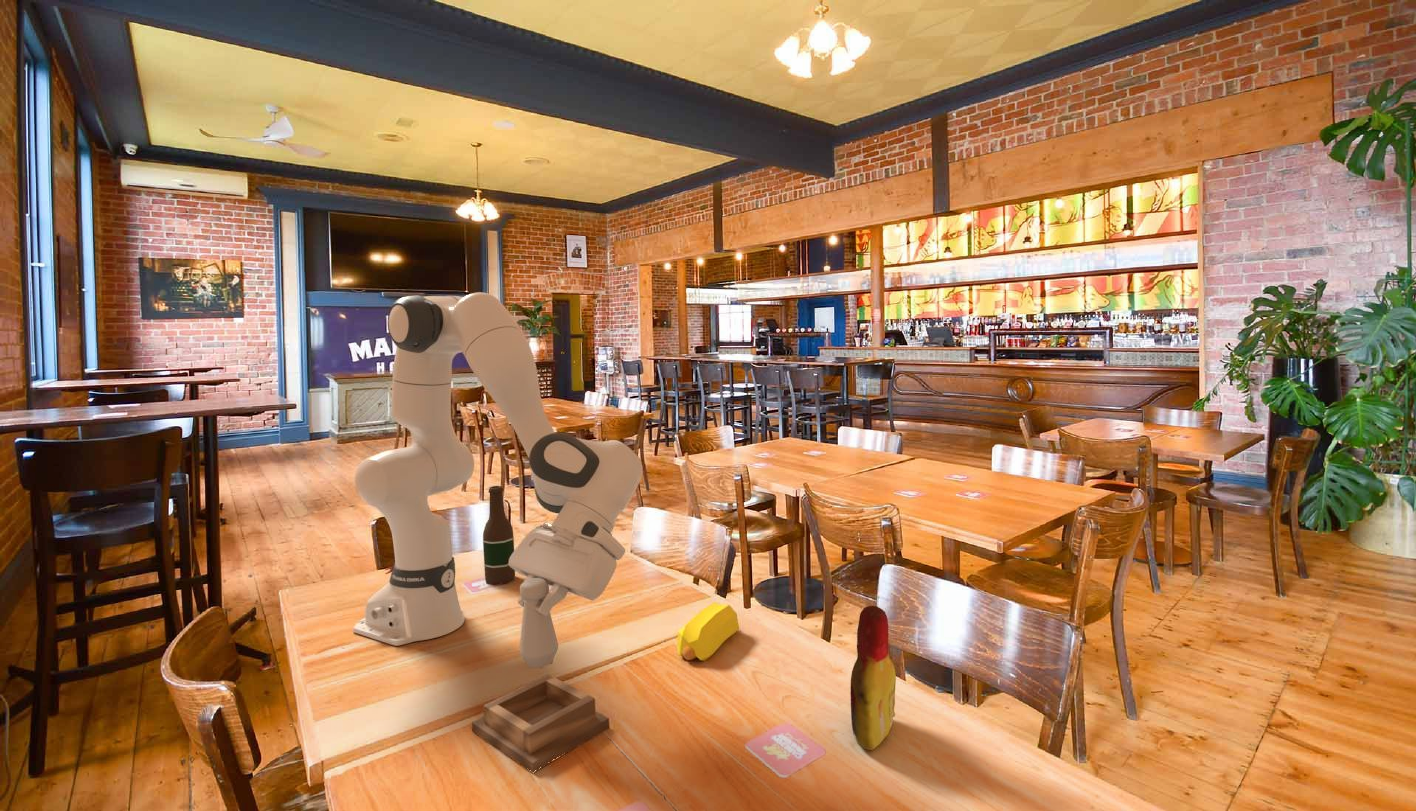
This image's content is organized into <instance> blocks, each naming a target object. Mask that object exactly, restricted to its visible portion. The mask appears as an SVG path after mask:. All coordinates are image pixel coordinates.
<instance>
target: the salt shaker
mask: <svg viewBox="0 0 1416 811" xmlns="http://www.w3.org/2000/svg"><path fill="white" fill-rule="evenodd" d="M519 592H520V593H519V594H520V596H521V598H522V599H524V607H523V612H522V621H521V631H520V638H519V653H520V656H521V657H522V659H523V660H524V662H525V663H526V664H527V666H528V667H529V668H530V669H543V668H545V667H547V666H549V665H551V664H553V663H554V662H553V661H554V658H555V656H556V654H557V652H558V650H559V641H558V638H557V634H556V631H555V627H554V623H553V619H552V618H553V617H552V616H551V611H550V612H549V614H548V615H547V616H544V615H542V614H540V613H538V612H537V611H535V606H536V605H537V604H538V601H539V600H540V599H542V600H543V599H545V598H546V597H547V596H548V595H549V594H550V585H548V582H547V581H546V580H545V579H543V578H532V579H528V580H526V581H525V580H523V582H522V583H521V584H520V585H519Z"/></svg>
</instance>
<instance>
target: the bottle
mask: <svg viewBox="0 0 1416 811" xmlns="http://www.w3.org/2000/svg"><path fill="white" fill-rule="evenodd" d="M889 633H890V632H889V620H888V615H887V614H886V611H885V610H883V609H882V608H880V607H879V606H876V605H867V606H864V608H863V609H862V610H861V612H860V614H859V618H858V626H857V633H856V653H857V656H856V660H855V662H854V665H853V667H852V670H851V676H850V693H849V694H850V715H851V716H850V718H851V728H852V732H853V736H854V739H855V741H856V743H857V744H858V746H860V747H861V748H863V749H865V750H869V751H871V750H872V751H873V750H875V749H876V748H877V747H878V746H880V745H881V743H882V742H883V741H884V740H885V738H886V737H888V735H889V734H890V731H891V730H890V729H891V728H892V726H893V723H894V717H895V716H896V712H895V706H896V705H895V704H896V684H897V683H896V680H897V676H896V675H897V674H896V667H895V666H894V663H893V662H892V660H891V659H890V654H889V652H890V651H889V637H890V636H889Z"/></svg>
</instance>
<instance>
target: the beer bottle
mask: <svg viewBox="0 0 1416 811" xmlns="http://www.w3.org/2000/svg"><path fill="white" fill-rule="evenodd" d="M487 492H488V493H489V515H488V520H487V522H486V523H485V526H484V529H483V534H482V544H483V545H482V547H483V548H482V550H483V563H484V564H483V565H484V579H485V583H486V584H489V585H493V586H497V585H506V584H509V583H511V582H513V581H514V582H515V579H516V571H515V570H514V569H512V568H511V567H510V566H509V565H508V564H509V558H510V556H511V555H512V553H513V552H514V551H515V539H514V529H513V526H512V524H511V522H510V519H508V518H507V515H506V511H505V505H504V503H505V502H504V494H503V492H504V488H503V486H502V485H492V486H490V487H489V488H488V491H487Z"/></svg>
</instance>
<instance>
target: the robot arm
mask: <svg viewBox="0 0 1416 811" xmlns="http://www.w3.org/2000/svg"><path fill="white" fill-rule="evenodd" d="M387 330H388V334H389V337H390V339H391V340H392V342H393V343H394V344H395V346H396V348H395V355H394V361H393V366H392V367H393V369H392V386H391V387H392V388H391V409H390V411H391V416H392V418H393V419H394V421H395V422H397V423H398V425H400V426H402V427H403V428H405V429H407V430H409V432H410V436H411V445H410V446H407V447H401V448H394V449H390V450H384V451H381V452H379V453H377V454H374V455H372V456H369V457H368V458H365V459H363V460H362V461H361V462H360V463H359V465H358V466H357V468H356V471H355V475H354V486H355V490H356V491H357V492H356V493H358V495H359V497H360V498H361V499H362V500H363V501H364V502H365V503H367V505H370V506H372V507H374V508H375V509H376V510H378V511H379V512H380V513H381V514H382V515H383V517H384V518H385V519H386V520H385V521H386V522H387V524H388V525H389V526H388V527H389V528H390V532H391V536H392V542H393V553H394V560H395V561H394V564H393V565H391V566H390V567H387V568H385V569H384V571H386V572H385V573H384V574H385V575H388V574H390V573H391V574H390V576H389V577H390V578H389V581H388V582H387V583H386V584H385V585H384V586H383V587H381V588H380V589H379V590H378V591H376V592H375V593H374V594H373V595H372V596H371V597H370V598H369V599H368V601H366V602H367V603H366V604H365V612H364V613H365V614H364V616H365V617H364V618H362V619H360V620H359V621H358V622H357V623H355V625H354V626H353V629H352V631H353V633H355V634H358V635H361V636H364V637H368V638H370V639H372V640H373V639H374V640H376V641H379V642H383V643H385V644H388V645H392V646H395V647H396V646H402V645H407V644H411V643H413V642H418V641H425V640H430V639H431V640H433V639H434V638H435V639H436V638H439V637H441V636H445V635H448V634H450V633H452V632H454V631H456V630H457V629H459V628H461V626H462V625H463V624H464V623H465V617H464V614H463V613H462V612H463V611H462V609H461V605H460V601H459V597H458V592H457V587H456V582H455V579H456V562H455V557H454V556H453V549H452V534H451V526H450V523H449V522H448V521H447V519H445V517H443V516H441V515H440V514H437V513H434V512H432V511H431V508H430V505H429V502H428V501H429V500H428V499H429V498H428V497H430V496H434V495H437V494H441V493H445V492H448V491H452V490H454V489H456V488H457V487H459V486H462V485H463V484H465V483H466V482H468V481H469V480H470V479H471V477H472V476H473V473H474V470H475V458H474V456H473V453H472V451H471V450H470V448H469V447H468V446H467V445H466V444H465V443H464V442H462V441H461V440H460V439H459V438H458V436H457V434H456V432H455V429H454V426H453V422H452V415H451V414H452V411H451V409H452V406H451V404H452V403H451V402H452V381H453V380H452V378H453V377H452V376H453V374H452V373H453V368H452V366H453V360H454V358H455V356H456V355H457V354H460V353H462V354H463V356H464V358H465V360H466V362H467V363H468V364H467V365H469V367H470V370H471V371H472V372H473V374H474V375H475V377H476V379H477V380H478V381H479V383H480V384H481V385H482V387H483V388H484V389H485V391H486V392H487V394H488V395H489V396H490V397H491V398H492V400H493V401H494V403H495V404H496V405H497V407H498V408H499V409H500V410H501V412H502V413H503V415H504V417H506V419H507V420H508V422H509V423H510V425H511V428H513V430H514V432H515V434H516V436H517V439H518V440H519V442H520V444H521V447H522V448H523V450H524V453H525V454H526V456H527V458H528V460H529V461H528V462H529V468H530V473H531V478H532V481H533V485H534V494H535V497H536V500H537V502H538V503H539V505H540V506H541V507H542V508H543V509H545V510H546V511H549V512H551V513H553V514H557V515H556V517H555V518H554V520H553V522H552V523H551V522H544V523H543V524H540V525H537V526H536V527H535V528H533V529H532V530H531V531H530V532H528V533H527V534H526V535H525V537H524V538H523V539H522V540H521V541H520V542H519V543H518V545H517V546H516V548H514V552H513V553H512V555H511V556H510V558H509V564H508V565H509V566H510V567H511V568H512V569H514V570H515V573H517V574H520V575H522V576H524V577H525V579H524V581H526V580H528V579H532V578H543V579H545V580H546V581H547V582H548V586H550V587H551V588H550V590H551V592H549V593H548V595H547V596H546V598H545V599H543V600H542V599H540V600H539V601H538V604H537V605H536V606H535V611H537V612H538V613H540V614H542V615H544V616H547V615H548V614H549V612H550V613H551V610H552V609H553V607H555V606H556V605H558V604H559V603H560V602H562V601H563V600H564V599H566V596H567V594H568V593H570V594H573V595H576V596H579V597H581V598H584V599H587V600H590V601H595V600H596V599H598V598H599V597H600V596H602V594H603V593H604V591H606V590H605V589H606V588H607V586H608V585H609V583H610V581H611V579H612V577H613V576H614V573H615V571H616V569H617V566H618V565H617V563H618V562H617V561H619V560H621V559H622V558H623V556H624V555H625V553H626V548H625V547H624V546H623V545H622V543H620V541H618V540H617V539H616V538H615V537H614V536H613V533H612V532H613V530H614V528H615V524H616V521H617V518H618V517H619V515H620V514H621V513H622V512H624V510H625V509H626V508H627V506H628V504H629V502H630V501H631V500H632V498H633V495H634V493H635V492H636V490H637V488H638V486H639V484H640V482H641V479H642V475H643V472H644V471H643V470H644V469H643V464H642V461H641V459H640V457H639V456H638V455H637V453H636V452H635V451H634V450H633V448H631V447H630V446H629V445H628V444H626V443H624V442H623V441H619V440H617V439H609V440H603V441H598V440H597V441H596V440H590V439H589V440H588V439H583V438H579V437H575V436H574V435H571V434H570V433H567V432H566V433H565V432H555V430H554V429H553V427H552V424H551V422H550V421H549V419H548V416H547V414H546V412H545V409H544V404H543V402H542V396H541V391H540V384H539V382H540V381H539V375H538V369H537V365H536V360H535V358H534V354H533V351H532V349H531V346H530V344H529V341H528V339H527V337H526V335H525V334H524V332H523V331H522V329H521V327H520V325H519V324H518V322H517V321H516V319H515V318H514V316H513V315H512V314H511V313H510V312H509V310H508V309H507V308H506V307H505V306H504V304H503V303H502V302H501V301H500V299H498V298H497V297H496V296H494V295H492V294H490V293H488V292H482V291H481V292H478V291H477V292H474V293H473V292H472V293H469V294H467V295H464V296H457V295H431V296H430V295H429V296H422V295H418V294H416V295H407V296H403V297H401V298H398V299H397V300H395V301H394V303H393V304H392V305H391V307H390V309H389V311H388V315H387ZM517 604H518V605H519V606H522V608H524V599H522V598H521V595H520V597H519V598H518V600H517Z"/></svg>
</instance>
